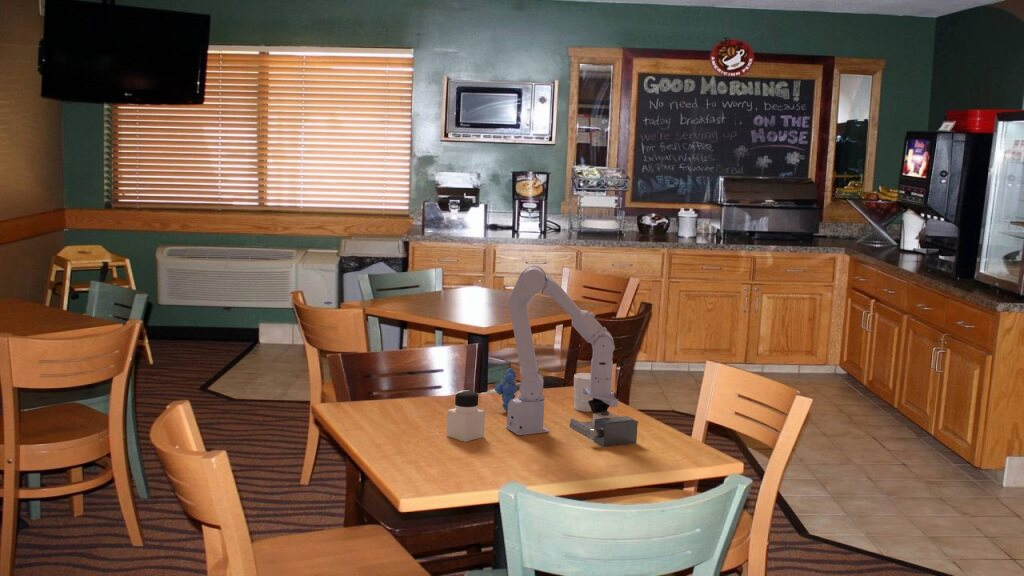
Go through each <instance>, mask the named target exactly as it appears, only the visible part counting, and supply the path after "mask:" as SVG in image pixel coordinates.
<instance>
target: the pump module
mask: <svg viewBox="0 0 1024 576" xmlns="http://www.w3.org/2000/svg"><path fill="white" fill-rule="evenodd" d="M611 417H620V415H616V414H614V413H612V412H611V411H609V410H607V411H601V413H592V421H593V423H592V428H593V429H594V423H595V419H601V418H611Z"/></svg>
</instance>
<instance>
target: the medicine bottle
mask: <svg viewBox="0 0 1024 576" xmlns="http://www.w3.org/2000/svg"><path fill="white" fill-rule="evenodd" d="M478 408H479V394H478V393H477V392H476V391H474V390H466V389H465V390H459V391H457V392H456V393H455V395H454V408H450V409H447V410H446V411H447V413H446V414H447V415H446V437H448V438H451V439H455V440H458V441H461V442H462V443H463V442H464V443H467V442H470V441H473V440H478V439H483V438H484V437H485V423H486V422H485V421H486V419H485V418H486V411H485V410H482V409H478Z"/></svg>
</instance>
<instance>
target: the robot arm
mask: <svg viewBox="0 0 1024 576" xmlns="http://www.w3.org/2000/svg"><path fill="white" fill-rule="evenodd" d="M540 292H541V296H545V297H550V298H552V299H553V300H554V301H555V302H556V303H557V304H558V306H559V307H561V309H563V311H565V312H566V313H567V315H569V317H571V326H572V327H573V328H574V329H575V330H576V331H577V332H578V334H580V336H581V337H582V338H583V339H584V340H585V341H586V342H587V343H589V344H591V347H592V357H591V361H590V373H591V376H590V387H583V394H585V395H586V394H587V395H589V396H590V397H592V398H593V400H589V401H588V403H589V405H590V407H591V410H592V412H591V413H592V414H593V413H601V411H608V409H609V408H615V407H618V406H619V399H617V398H616V397H615V392H613V391H612V382H613V381H612V379H613V364H614V361H613V358H614V351H615V349H616V346H615V341H614V338H613V336H612V334H611V333H610V332H609V330H608V329H607V328H606V326H602V324H601V323H600V322H599V321H598V320H597V319H596V318H595V317H596V314H595V313H594V312H592V311H591V312H590V311H589V310H585V309H581V308H580V307H579V306H578V305H577V304H576V303H575V301H574V300H573V299H572V298H571V297H570V296H569V294H567V292H566V291H565V290H564V289H563V288H562V286H561V285H560V284H559V283H558V282H557V281H556V280H555V278H553V277H552V276H551V275H550V274H548V273H546V272H545V270H544V269H543V268H542V267H540V266H539V265H530V266H528V267H527V268H525V269H524V270H523V271H522V272H521V273H520V274H519V276H518V278H517V280H516V282H515V285H514V287H513V288H512V291H511V293H510V295H509V298H508V306H509V308H508V309H509V312H510V318H511V324H512V329H513V330H512V331H513V335H514V340H515V341H514V342H515V345H516V353H517V358H518V363H519V372H520V373H519V374H520V384H519V393H518V394H517V397H515V398H514V399H512V400H510V401H509V403H508V411H506V412H507V413H506V414H507V416H506V418H507V419H506V425H505V428H506V429H508V430H509V431H511V432H512V433H514V434H516V435H518V436H523V435H525V436H526V435H532V434H541V433H543V434H545V433H549V432H550V429H548V428H546V427H544V417H545V395H544V394H543V392H544V383H545V380H544V377H543V374H542V373H541V371H539V366H538V365H539V364H538V362H537V358H536V351H535V347H534V346H535V345H534V339H533V335H532V329H531V323H530V317H529V312H528V303H529V302H530V301H531V299H532V298H533V297H534V296H535V295H537V294H539V293H540Z"/></svg>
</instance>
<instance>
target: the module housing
mask: <svg viewBox="0 0 1024 576" xmlns="http://www.w3.org/2000/svg"><path fill="white" fill-rule="evenodd" d="M569 422H570V423H569V428H571V429H573V430H575V431H576V432H578V433H580V434H582V435H583V436H585V437H587V438H588V439H589V440H593V443H596V444H597V445H599V446H601V448H602V447H603V448H608V447H616V446H617V447H619V446H625V445H626V446H627V445H633V444H634V445H636V444H637V442H638V441H637V438H638V425H639V424H638V423H639V421H638V420H636V419H634V418H632V417H630V416H627V415H623V416H619V417H611V418H601V419H595V423H594V429H593V428H592V423H593V420H589V421H580V420H578V419H575V418H574V417H571V418H570V421H569Z"/></svg>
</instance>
